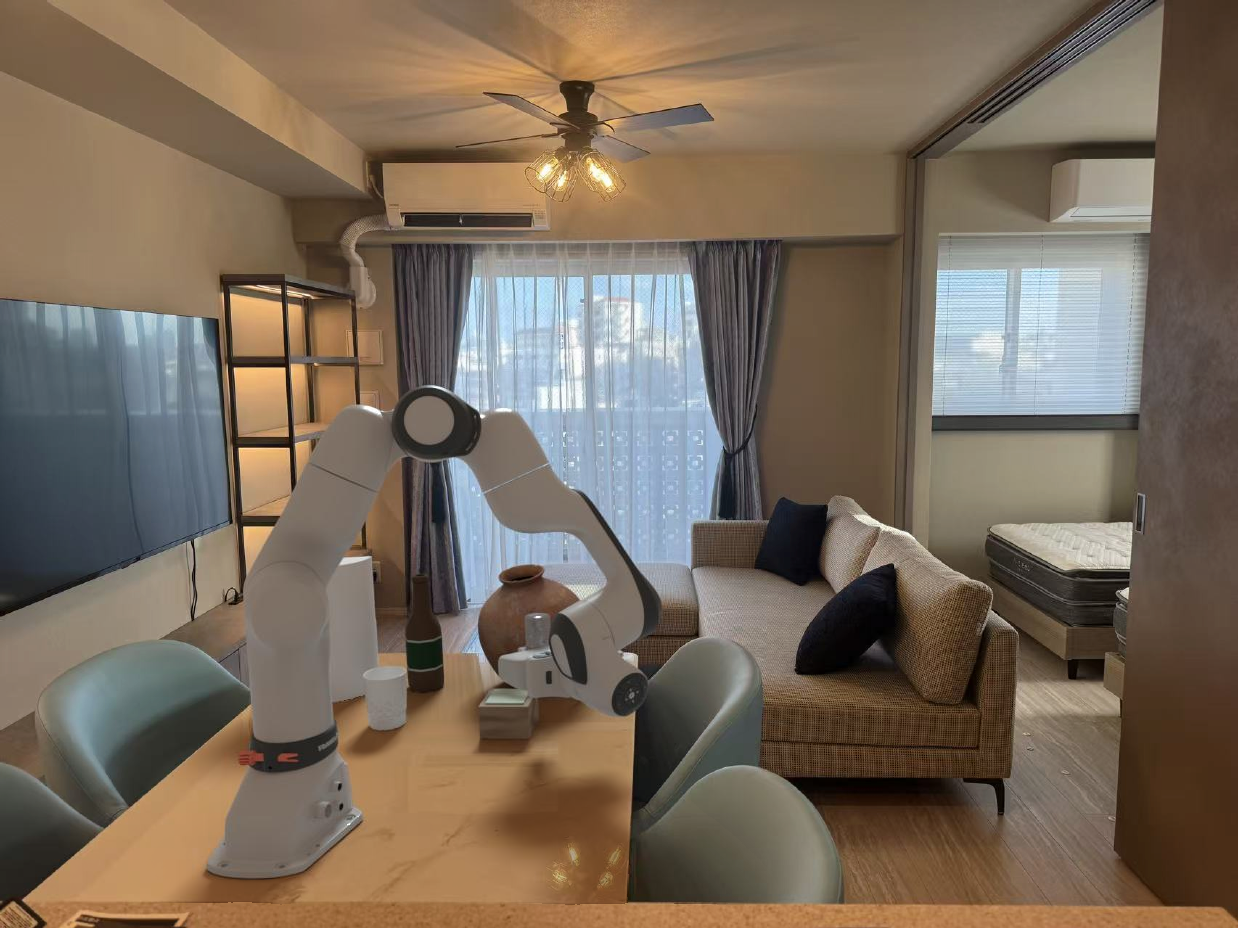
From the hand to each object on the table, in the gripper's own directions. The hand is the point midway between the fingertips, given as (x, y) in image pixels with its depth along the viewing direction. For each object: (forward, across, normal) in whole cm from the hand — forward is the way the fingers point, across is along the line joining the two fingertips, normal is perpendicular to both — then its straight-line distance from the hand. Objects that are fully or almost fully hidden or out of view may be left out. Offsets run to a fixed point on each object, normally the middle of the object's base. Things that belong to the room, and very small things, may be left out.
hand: (535, 648), depth 154 cm
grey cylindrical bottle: (-1, 0, +7) cm, 7 cm away
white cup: (+24, +19, +17) cm, 35 cm away
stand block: (+7, +2, +17) cm, 18 cm away
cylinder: (+50, +21, +17) cm, 57 cm away
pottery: (+26, -13, +17) cm, 33 cm away
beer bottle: (+39, +6, +17) cm, 43 cm away
